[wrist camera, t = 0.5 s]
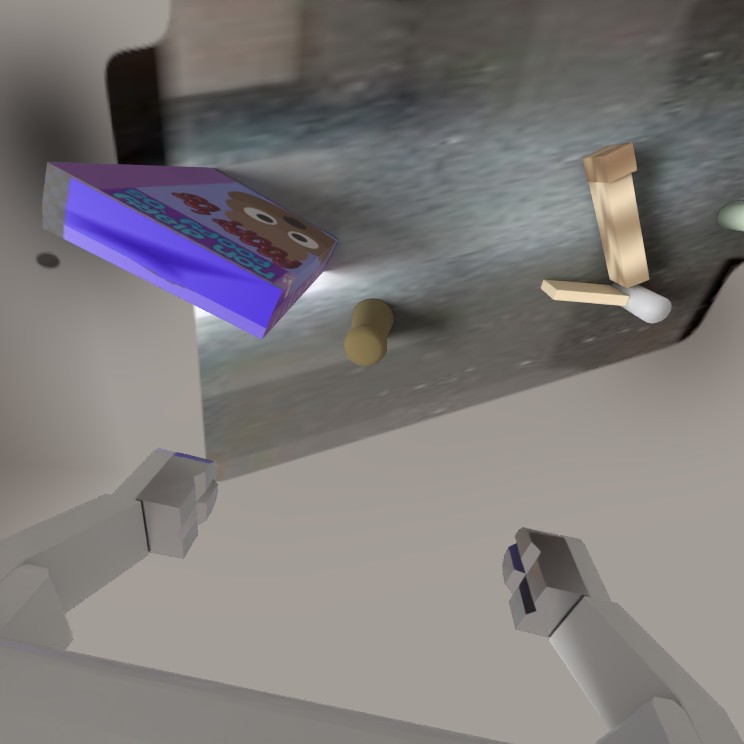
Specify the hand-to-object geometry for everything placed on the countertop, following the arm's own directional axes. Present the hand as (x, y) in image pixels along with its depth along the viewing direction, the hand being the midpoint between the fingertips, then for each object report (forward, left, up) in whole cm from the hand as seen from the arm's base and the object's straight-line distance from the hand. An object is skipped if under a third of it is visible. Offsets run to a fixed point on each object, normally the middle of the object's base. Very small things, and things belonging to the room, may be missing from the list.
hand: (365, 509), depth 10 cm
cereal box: (-1, -17, -44) cm, 47 cm away
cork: (+11, -3, -44) cm, 45 cm away
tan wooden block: (-5, +24, -43) cm, 49 cm away
